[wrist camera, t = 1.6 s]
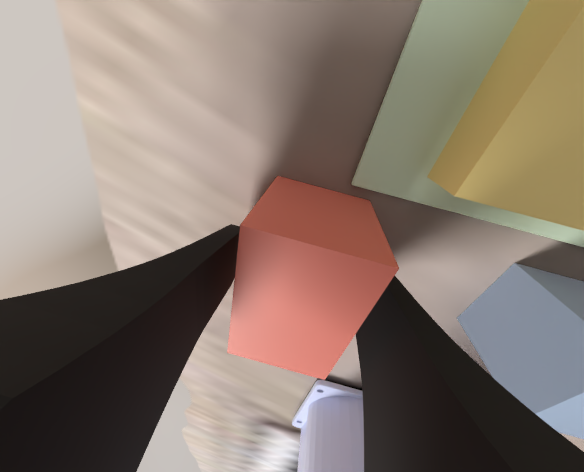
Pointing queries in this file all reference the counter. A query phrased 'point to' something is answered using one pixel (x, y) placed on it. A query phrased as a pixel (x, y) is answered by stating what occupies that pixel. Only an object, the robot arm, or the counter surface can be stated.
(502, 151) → the mustard brick
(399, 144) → the baseplate
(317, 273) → the red brick
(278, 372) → the counter surface
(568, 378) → the blue brick
